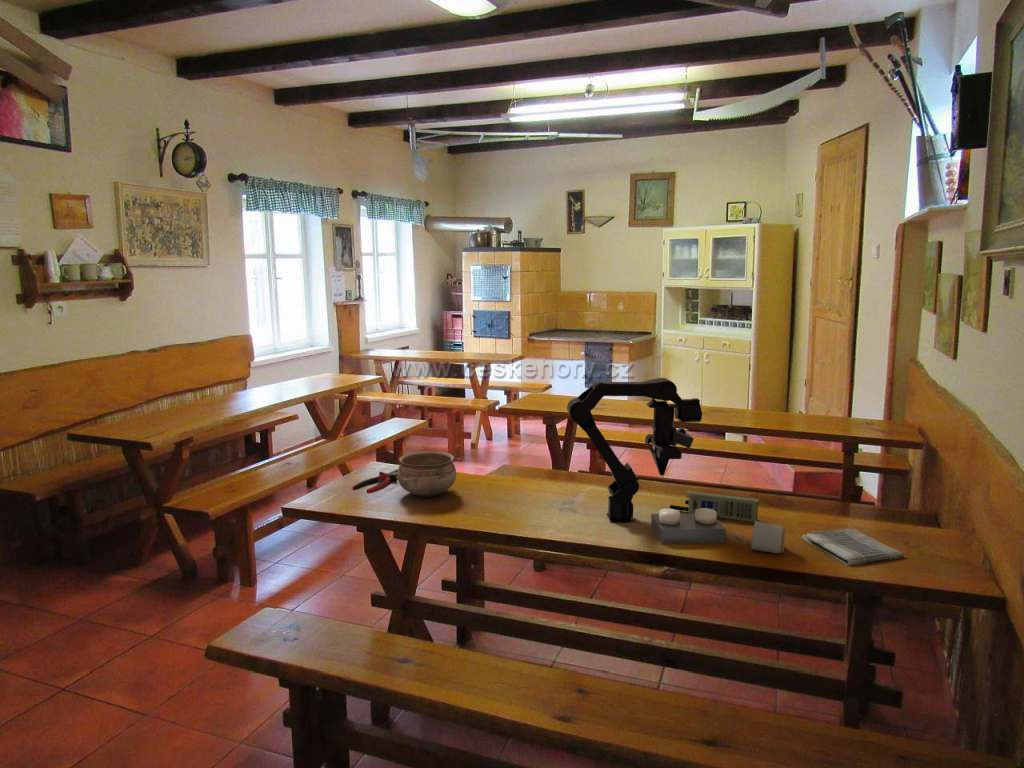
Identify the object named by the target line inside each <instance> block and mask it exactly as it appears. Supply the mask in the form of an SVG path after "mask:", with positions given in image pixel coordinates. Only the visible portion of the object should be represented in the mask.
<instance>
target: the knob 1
mask: <svg viewBox="0 0 1024 768" xmlns="http://www.w3.org/2000/svg"><path fill="white" fill-rule="evenodd" d="M680 513H681V511H680V510H675V509H670V508H662V509H659V510H658V514H659V521H660V522H661V523H662V525H678V523H679V522H680Z"/></svg>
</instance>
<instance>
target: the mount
mask: <svg viewBox="0 0 1024 768" xmlns="http://www.w3.org/2000/svg"><path fill="white" fill-rule="evenodd" d="M650 519H651V520H650V528H651V530H652V531H653V533H654V534H655V536H656V538H657V539H658V541H659V543H660V544H661V545H679V544H680V545H681V544H683V545H684V544H685V545H686V544H690V545H691V544H725V543H726V527H725V526H723V524H722V523H721V522H720V521H719V520H718V518H716V523H715V524H699V523H698V522H697V521H695V513H686V512H684V513H683V512H682V513H681V512H680V522H679V523H678V525H662V523H661V522H660V521H659V513H651V515H650Z"/></svg>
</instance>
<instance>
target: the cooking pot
mask: <svg viewBox="0 0 1024 768" xmlns="http://www.w3.org/2000/svg"><path fill="white" fill-rule="evenodd" d="M454 459H455V456H454V455H453V454H451V453H448V452H445V451H444V452H443V451H437V450H435V451H434V450H426V451H425V450H424V451H416V452H415V451H414V452H410V453H406V454H403V455H402V456H400V457H399V459H398V461H399V462H400V464H399V467H398V472H397V483H398V484H399V485H400V487H401V488H402V489H403V490H404V491H406V492H408V493H410V494H413V495H414V496H416V497H418V498H422V499H431V498H435V497H437V496H439V495H440V494H442V493H443V492H445V491H447V490H449V489H450V488H451V487H452V486H453V484H454V483H455V482H456V478H457V470H456V466H455V464H454V461H453V460H454Z"/></svg>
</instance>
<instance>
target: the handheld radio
mask: <svg viewBox="0 0 1024 768" xmlns="http://www.w3.org/2000/svg"><path fill="white" fill-rule="evenodd" d="M685 493H686V495H685V498H687V499H686V500H685V501H684V503H685V505H688V506H681V505H673V504H670V505H669V509H675V510H678V511H680V512H681V511H684V512H688V513H695V510H696V509H699V508H708V509H712V510H715V511H716V512H717V514H716V519H718V518H719V519H726V520H727V519H728V520H735V521H740V522H749V523H755V521H758V515H759V514H758V512H759V499H758V498H750V497H742V496H732V495H724V494H714V493H705V492H698V491H689V490H688V491H685Z"/></svg>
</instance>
